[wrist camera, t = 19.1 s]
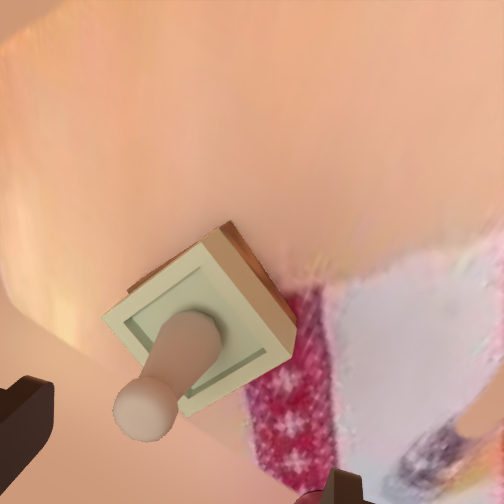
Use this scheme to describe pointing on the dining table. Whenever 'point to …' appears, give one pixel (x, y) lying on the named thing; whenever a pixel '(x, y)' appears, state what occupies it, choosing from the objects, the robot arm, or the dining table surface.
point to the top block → (213, 304)
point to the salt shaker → (167, 375)
